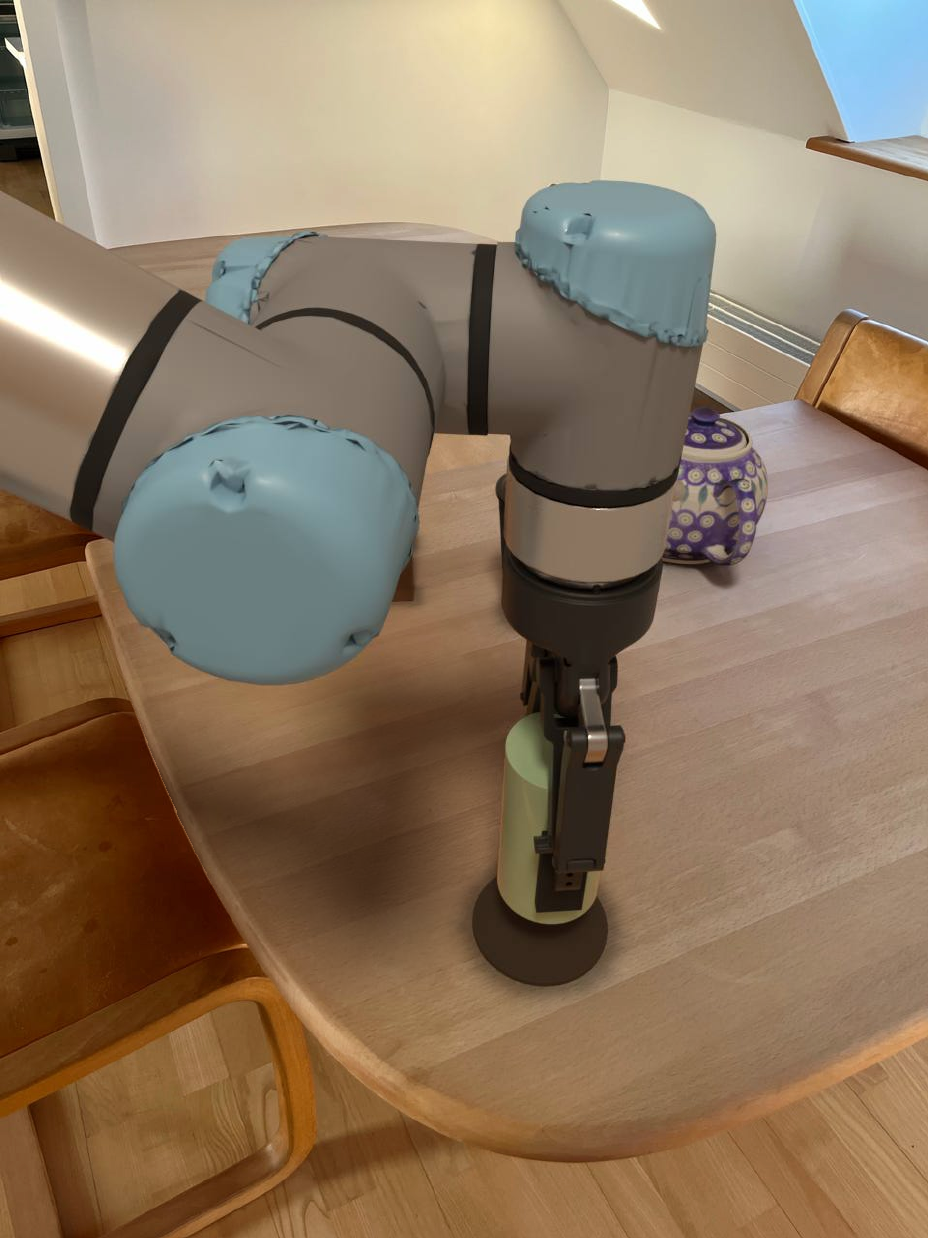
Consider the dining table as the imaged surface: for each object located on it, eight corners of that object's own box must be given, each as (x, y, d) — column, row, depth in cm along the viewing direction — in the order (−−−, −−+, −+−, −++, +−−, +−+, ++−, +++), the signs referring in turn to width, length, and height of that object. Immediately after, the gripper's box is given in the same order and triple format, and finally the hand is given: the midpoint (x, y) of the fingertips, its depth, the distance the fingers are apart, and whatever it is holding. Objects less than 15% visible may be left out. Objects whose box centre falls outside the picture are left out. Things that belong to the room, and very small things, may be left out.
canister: (503, 928, 57) (512, 794, 49) (492, 843, 62) (499, 711, 54) (606, 921, 57) (631, 788, 50) (587, 838, 62) (607, 706, 55)
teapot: (798, 603, 92) (839, 466, 82) (648, 615, 89) (673, 477, 80) (706, 477, 111) (731, 355, 102) (581, 484, 109) (595, 361, 100)
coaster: (479, 991, 59) (479, 987, 58) (466, 872, 66) (467, 868, 65) (620, 981, 59) (621, 978, 59) (593, 865, 66) (593, 861, 66)
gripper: (723, 680, 37) (644, 998, 51) (618, 447, 52) (580, 742, 66) (533, 688, 36) (507, 1008, 50) (484, 451, 51) (474, 747, 65)
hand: (548, 856), depth 58 cm, fingers closed on canister, 6 cm apart
